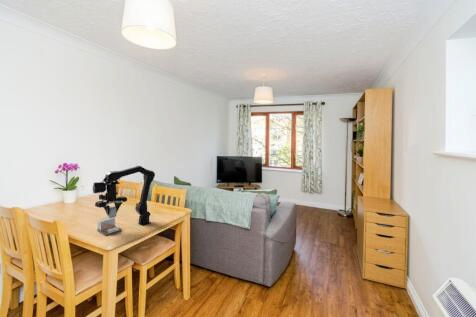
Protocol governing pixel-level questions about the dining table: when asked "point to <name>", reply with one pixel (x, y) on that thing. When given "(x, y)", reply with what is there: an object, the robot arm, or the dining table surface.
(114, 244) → the dining table surface
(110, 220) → the motor mount
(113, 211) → the grey round-ended capsule
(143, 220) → the robot arm
